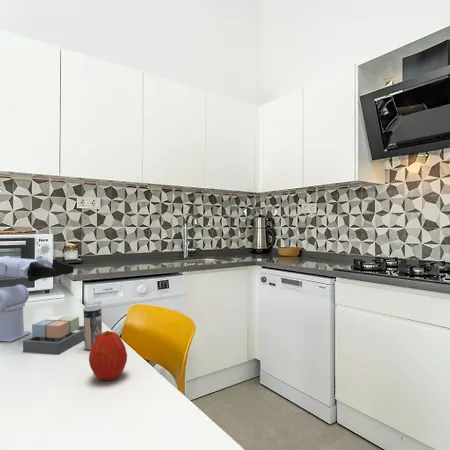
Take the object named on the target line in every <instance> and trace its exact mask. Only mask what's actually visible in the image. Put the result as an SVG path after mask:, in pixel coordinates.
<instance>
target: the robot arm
mask: <svg viewBox="0 0 450 450" xmlns="http://www.w3.org/2000/svg"><path fill="white" fill-rule="evenodd" d="M74 268H75V267H74V266H73V265H71V264H68V263H66V262H63V261H62V260H61V259H59V258H53V259H52V262H50V261H48V260H44V259H43V255H37V256H36V257H35V259H34V258H22V257H21V258H19V257H12V256H10V255H4V256H0V276H6V277H7V276H8V277H15V278H26V279H27V280H28V282H31V283H32V282H36V281H39V280H41V279H49V278H57V277H59V276H62V275H70V274H74ZM29 296H30V292H29V290H28V288H27V287H26V286H25V285H23V284H16V285H13V286H4V287H3V286H1V287H0V342H5V343H6V342H7V343H8V342H9V343H10V342H14V341H16V340H18V339H21V338H23V337H26V336H28V335H30V334H32V332H31V331H25V327H24V307H26V304H25V303H27V301H28V300H29Z"/></svg>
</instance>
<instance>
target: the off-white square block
mask: <svg viewBox="0 0 450 450" xmlns="http://www.w3.org/2000/svg"><path fill="white" fill-rule="evenodd" d="M65 317H66V316H64V315H53V316H50V317H48V318H45V319H43V320H44V321H54V322H55V321H58V320H60V319H62V318H65Z"/></svg>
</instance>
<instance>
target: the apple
mask: <svg viewBox="0 0 450 450" xmlns="http://www.w3.org/2000/svg"><path fill="white" fill-rule="evenodd" d="M127 361H128V353H127V349H126V346H125V343H124V342H123V339H122V338H121V337H120V336H119V334H117V333H116V332H114V331H111V330H110V331H109V330H106V331H102V333H101V334H100V335H99V336H98V337H97V338H96V340H95V341H94V343H93V345H92V348H91V350H89V355H88V362H89V367H90V369H91V371H92V372H93V374H94V376H95V377H96V378H97V379H98V380H102V381H113V380H117V378H119V377H120V376H121V375H122V373H123V372H124V369H125V367H126V364H127Z"/></svg>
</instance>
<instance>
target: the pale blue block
mask: <svg viewBox="0 0 450 450" xmlns="http://www.w3.org/2000/svg"><path fill="white" fill-rule="evenodd" d="M44 320H45V319H43V320H39V321H38V322H37V321H36V322H35V323H32V324H31V327H32V328H31V331H32V332H31V337H47V325H48V324H51V323H53V322H54V321H44Z"/></svg>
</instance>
